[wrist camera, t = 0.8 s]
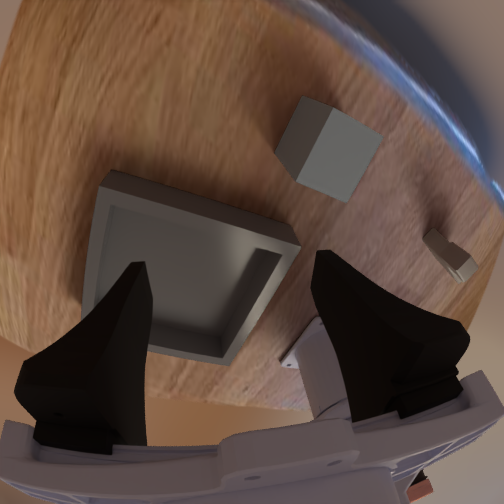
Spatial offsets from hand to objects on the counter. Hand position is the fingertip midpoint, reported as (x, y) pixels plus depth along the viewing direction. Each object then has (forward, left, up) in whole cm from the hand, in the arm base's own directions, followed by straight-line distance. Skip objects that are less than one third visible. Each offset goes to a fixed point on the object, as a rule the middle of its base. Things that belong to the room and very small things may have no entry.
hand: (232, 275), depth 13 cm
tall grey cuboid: (-4, -6, -10) cm, 13 cm away
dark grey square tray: (+1, +8, -10) cm, 13 cm away
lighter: (-20, -3, -10) cm, 23 cm away
